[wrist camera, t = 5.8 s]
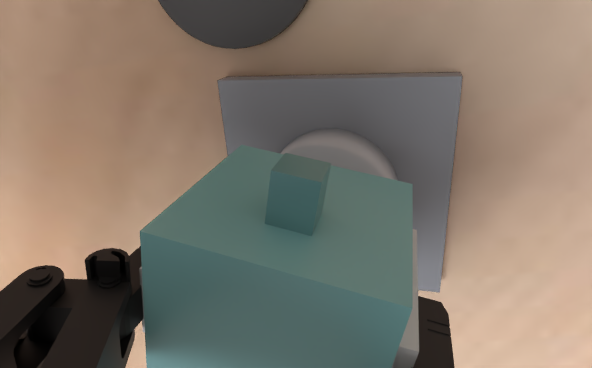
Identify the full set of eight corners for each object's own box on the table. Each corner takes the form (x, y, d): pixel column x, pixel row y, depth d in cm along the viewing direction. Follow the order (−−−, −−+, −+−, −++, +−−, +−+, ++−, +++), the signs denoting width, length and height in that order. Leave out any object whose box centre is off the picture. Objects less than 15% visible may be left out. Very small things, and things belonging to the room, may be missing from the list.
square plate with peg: (226, 76, 22) (122, 118, 14) (459, 72, 19) (492, 123, 11) (249, 259, 27) (181, 366, 19) (438, 279, 24) (450, 418, 16)
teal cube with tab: (372, 318, 18) (352, 478, 12) (231, 276, 20) (148, 403, 13) (424, 142, 15) (434, 247, 8) (244, 104, 16) (137, 172, 10)
